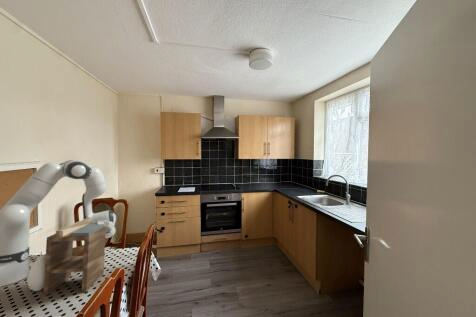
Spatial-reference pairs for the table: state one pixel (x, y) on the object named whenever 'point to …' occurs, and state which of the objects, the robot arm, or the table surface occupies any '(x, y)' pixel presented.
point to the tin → (78, 251)
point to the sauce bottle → (37, 274)
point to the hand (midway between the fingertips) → (87, 222)
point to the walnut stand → (74, 260)
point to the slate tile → (87, 230)
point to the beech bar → (73, 227)
